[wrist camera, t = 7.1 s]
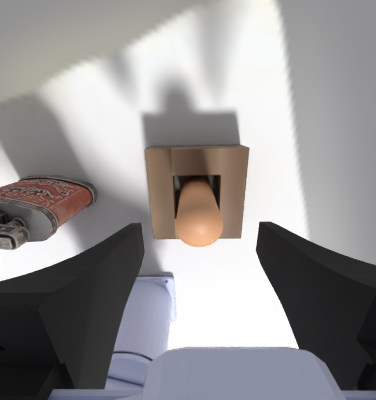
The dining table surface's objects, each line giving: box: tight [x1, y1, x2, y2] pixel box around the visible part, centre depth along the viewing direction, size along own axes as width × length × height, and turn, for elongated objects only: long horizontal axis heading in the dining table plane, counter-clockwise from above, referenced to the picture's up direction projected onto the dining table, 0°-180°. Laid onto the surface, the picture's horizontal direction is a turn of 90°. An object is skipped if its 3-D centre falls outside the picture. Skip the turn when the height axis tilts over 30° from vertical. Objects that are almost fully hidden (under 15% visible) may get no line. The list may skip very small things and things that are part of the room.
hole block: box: [145, 145, 249, 239], centre depth 19 cm, size 9×9×3 cm
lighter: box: [0, 175, 98, 250], centre depth 16 cm, size 8×3×10 cm, turn 83°
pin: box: [175, 176, 223, 247], centre depth 16 cm, size 3×3×8 cm
